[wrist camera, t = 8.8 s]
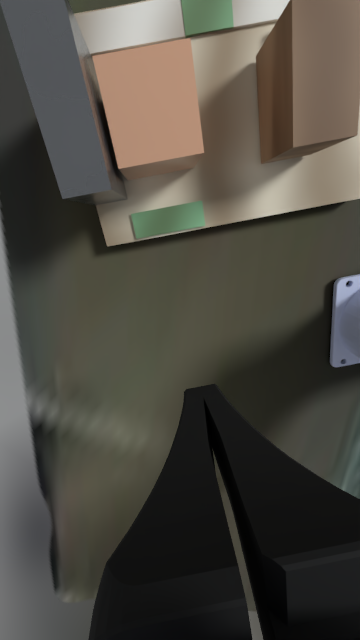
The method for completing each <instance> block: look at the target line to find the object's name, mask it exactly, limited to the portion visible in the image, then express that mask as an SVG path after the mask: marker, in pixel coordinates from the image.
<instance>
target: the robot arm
mask: <svg viewBox="0 0 360 640" xmlns="http://www.w3.org/2000/svg"><path fill="white" fill-rule="evenodd" d="M348 281H349V284H348V285H347V286H346V283H347V282H348ZM341 360H343V361H341ZM357 363H360V274H357V275H352V276H347V277H342V278H338V279H337V280H336V281H335V282H334V289H333V309H332V328H331V348H330V364H331V365H332V366H333V367H342V366H347V365H352V364H357ZM212 448H213V450H212ZM213 451H214V454H215V457H216V460H217V463H218V466H219V470H220V473H221V476H222V479H223V482H224V485H225V488H226V491H227V494H228V497H229V500H230V503H231V507H232V510H233V514H234V518H235V522H236V526H237V530H238V534H239V538H240V542H241V547H242V551H243V555H244V559H245V563H246V567H247V572H248V576H249V580H250V584H251V588H252V593H253V597H254V601H255V605H256V610H257V614H258V618H259V622H260V626H261V631H262V635H263V639H264V640H360V499H358V498H356V497H354V496H352V495H350V494H349V493H347V492H345V491H343V490H341V489H339V488H337V487H336V486H334V485H332V484H331V483H329V482H327V481H326V480H324V479H322V478H321V477H319V476H317V475H316V474H314V473H313V472H311V471H310V470H308V469H307V468H305V467H304V466H302V465H301V464H299V463H298V462H296V461H295V460H293V459H292V458H291V457H289V456H288V455H287V454H285V453H284V452H283V451H281V450H280V449H279V448H277V447H276V446H275V445H274V444H272V443H271V442H270V441H269V440H267V439H266V438H265V437H264V436H263V435H262V434H260V433H259V432H258V431H257V430H256V429H255V428H254V427H253V426H252V425H251V424H250V423H249V422H248V421H247V420H246V419H245V418H244V417H243V416H242V415H241V414H240V413H239V412H238V411H237V410H236V409H235V408H234V407H233V406H232V404H231V403H230V402H229V401H228V400H227V398H226V397H225V396H224V395H223V393H222V392H221V391H220V389H219V388H218V386H217V385H215V384H211V385H206V386H201V387H196V388H191V389H186V390H185V392H184V403H183V409H182V414H181V418H180V422H179V426H178V429H177V432H176V435H175V438H174V441H173V444H172V447H171V450H170V453H169V455H168V458H167V460H166V462H165V465H164V467H163V469H162V471H161V473H160V475H159V478H158V480H157V482H156V484H155V486H154V488H153V490H152V492H151V493H150V495H149V497H148V499H147V501H146V502H145V504H144V506H143V507H142V509H141V511H140V513H139V514H138V516H137V518H136V519H135V521H134V523H133V524H132V526H131V527H130V529H129V531H128V532H127V533H126V535H125V536H124V538H123V539H122V541H121V542H120V544H119V545H118V547H117V548H116V550H115V551H114V553H113V554H112V555H111V557H110V558H109V560H108V561H107V563H106V566H105V569H104V572H103V575H102V578H101V582H100V585H99V589H98V593H97V597H96V601H95V605H94V609H93V615H92V621H91V628H90V634H89V640H252V634H251V628H250V622H249V615H248V608H247V603H246V598H245V594H244V589H243V585H242V580H241V576H240V572H239V567H238V563H237V559H236V555H235V551H234V547H233V543H232V539H231V535H230V531H229V527H228V523H227V519H226V515H225V511H224V507H223V503H222V498H221V494H220V490H219V486H218V482H217V478H216V473H215V465H214V458H213Z"/></svg>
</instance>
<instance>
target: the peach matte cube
mask: <svg viewBox="0 0 360 640" xmlns="http://www.w3.org/2000/svg"><path fill="white" fill-rule="evenodd" d="M92 57H93V61H94V66H95V70H96V74H97V79H98V83H99V87H100V92H101V96H102V100H103V104H104V109H105V113H106V117H107V122H108V126H109V130H110V135H111V139H112V143H113V147H114V152H115V156H116V160H117V165H118V169H119V170H120V171H121V173H122V174H123V175H124V176H125V177H126V179H127V180H133V179H138V178H144V177H149V176H154V175H159V174H165V173H170V172H175V171H181V170H186V169H191V168H194V166H195V165H196V164H197V162H198V161H199V159H200V158H201V157H202V155H203V154H204V147H203V139H202V130H201V122H200V114H199V105H198V97H197V89H196V80H195V72H194V64H193V55H192V47H191V39H190V38H187V39H181V40H176V41H171V42H165V43H160V44H154V45H149V46H144V47H138V48H133V49H127V50H122V51H117V52H111V53H106V54H100V55H95V56H92Z"/></svg>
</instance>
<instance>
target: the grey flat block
mask: <svg viewBox="0 0 360 640" xmlns="http://www.w3.org/2000/svg"><path fill="white" fill-rule="evenodd" d="M0 3H1V7H2V10H3V13H4V16H5V19H6V22H7V25H8V29H9V32H10V35H11V38H12V41H13V44H14V48H15V51H16V54H17V57H18V60H19V63H20V67H21V70H22V73H23V76H24V79H25V82H26V85H27V89H28V92H29V95H30V98H31V101H32V104H33V108H34V111H35V114H36V117H37V120H38V123H39V127H40V130H41V133H42V136H43V139H44V142H45V145H46V149H47V152H48V155H49V158H50V161H51V164H52V168H53V171H54V174H55V177H56V180H57V183H58V187H59V190H60V193H61V196H62V199H65V200H70V201H75V202H81V203H86V204H91V205H101V204H106V203H111V202H116V201H122V200H127V199H128V198H127V193H126V189H125V185H124V180H123V176H122V173H121V171H120V170H119V169H118V165H117V160H116V156H115V152H114V147H113V143H112V139H111V135H110V130H109V126H108V122H107V117H106V113H105V109H104V104H103V100H102V96H101V92H100V87H99V83H98V79H97V74H96V70H95V66H94V61H93V59H92V57H91V54H90V52H89V49H88V47H87V45H86V42H85V40H84V37H83V35H82V33H81V30H80V28H79V25H78V23H77V21H76V18H75V16H74V13H73V11H72V8H71V6H70V4H69V1H68V0H0Z"/></svg>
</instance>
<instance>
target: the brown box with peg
mask: <svg viewBox="0 0 360 640" xmlns="http://www.w3.org/2000/svg"><path fill="white" fill-rule="evenodd" d="M256 72H257V92H258V113H259V133H260V153H261V164H265V163H270V162H275V161H280V160H286V159H291V158H296V157H301V156H307V155H311V154H313V153H316V152H318V151H321V150H323V149H326V148H328V147H330V146H333V145H335V144H338V143H340V142H343V141H345V140H347V139H350V138H352V137H355V136H357V134H358V120H359V106H360V0H290V1H289V2H288V4H287V6H286V7H285V9H284V11H283V12H282V14H281V16H280V17H279V19H278V21H277V22H276V24H275V25H274V27H273V29H272V30H271V32H270V34H269V35H268V37H267V39H266V40H265V42H264V44H263V45H262V47H261V49H260V50H259V52H258V53H257V55H256Z"/></svg>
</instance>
